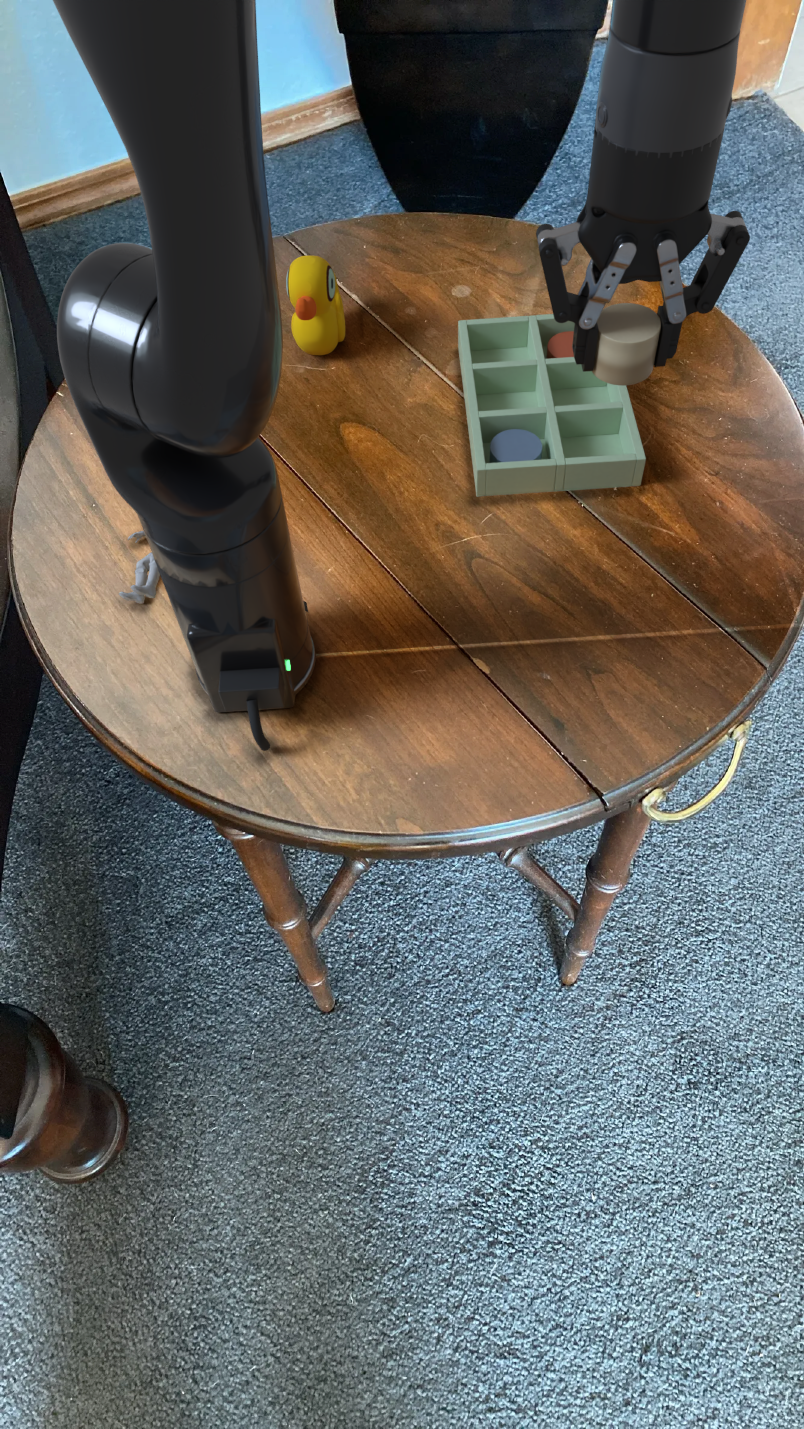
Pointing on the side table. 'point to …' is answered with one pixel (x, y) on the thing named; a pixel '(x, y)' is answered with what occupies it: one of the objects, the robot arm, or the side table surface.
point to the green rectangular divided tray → (543, 411)
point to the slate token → (515, 446)
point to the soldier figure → (143, 576)
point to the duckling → (315, 305)
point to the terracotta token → (560, 345)
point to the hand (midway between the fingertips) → (621, 361)
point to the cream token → (626, 343)
